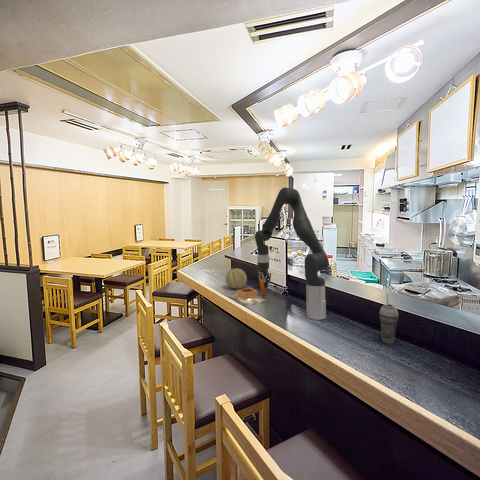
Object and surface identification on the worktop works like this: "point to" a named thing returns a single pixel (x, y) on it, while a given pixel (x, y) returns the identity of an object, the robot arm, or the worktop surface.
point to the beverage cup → (388, 322)
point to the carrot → (262, 286)
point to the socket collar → (247, 294)
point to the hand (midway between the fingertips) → (263, 286)
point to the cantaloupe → (236, 278)
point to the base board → (247, 303)
